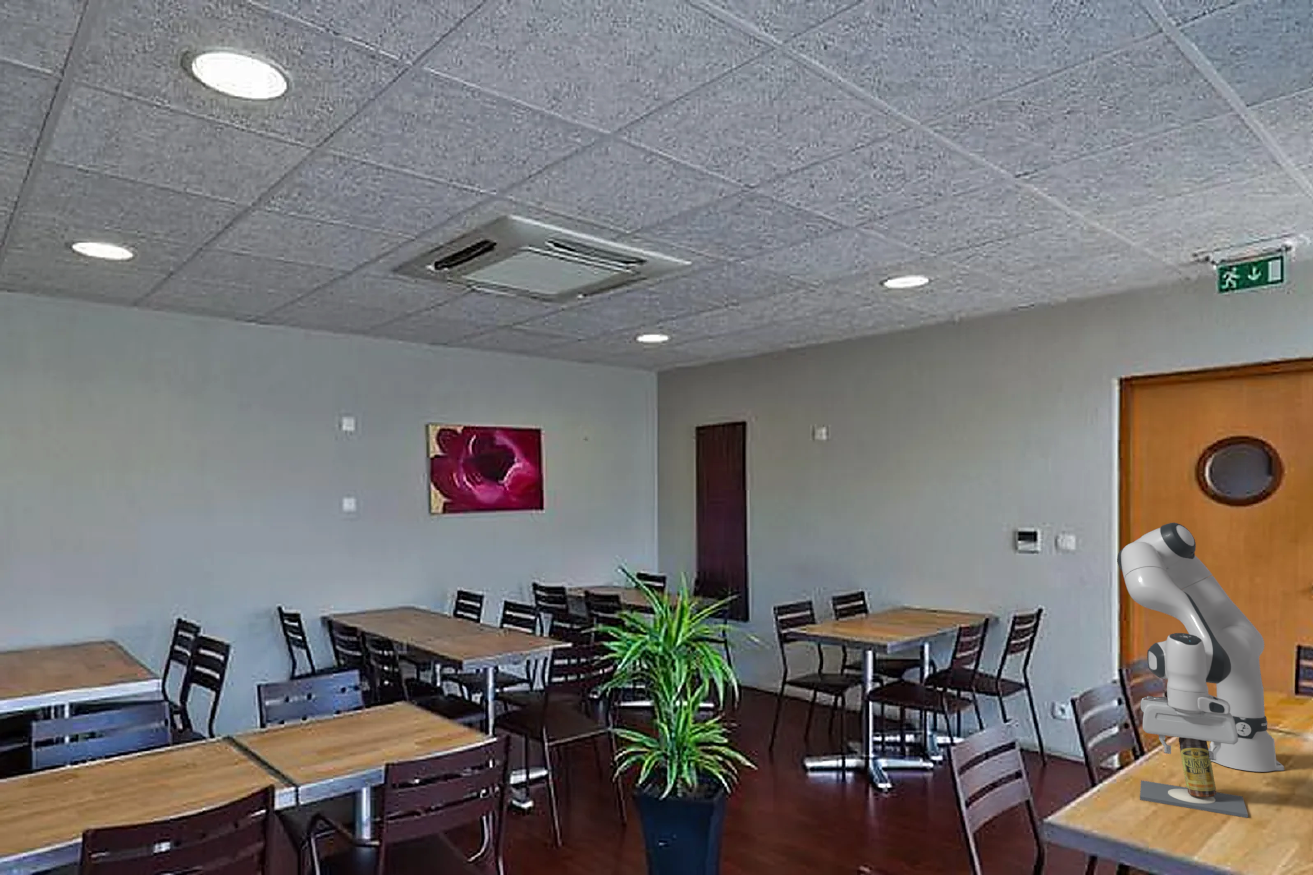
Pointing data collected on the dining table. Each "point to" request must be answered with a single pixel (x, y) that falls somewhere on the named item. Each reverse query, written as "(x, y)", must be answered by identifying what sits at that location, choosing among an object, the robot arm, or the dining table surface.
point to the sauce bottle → (1197, 767)
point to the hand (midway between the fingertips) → (1189, 756)
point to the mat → (1192, 799)
